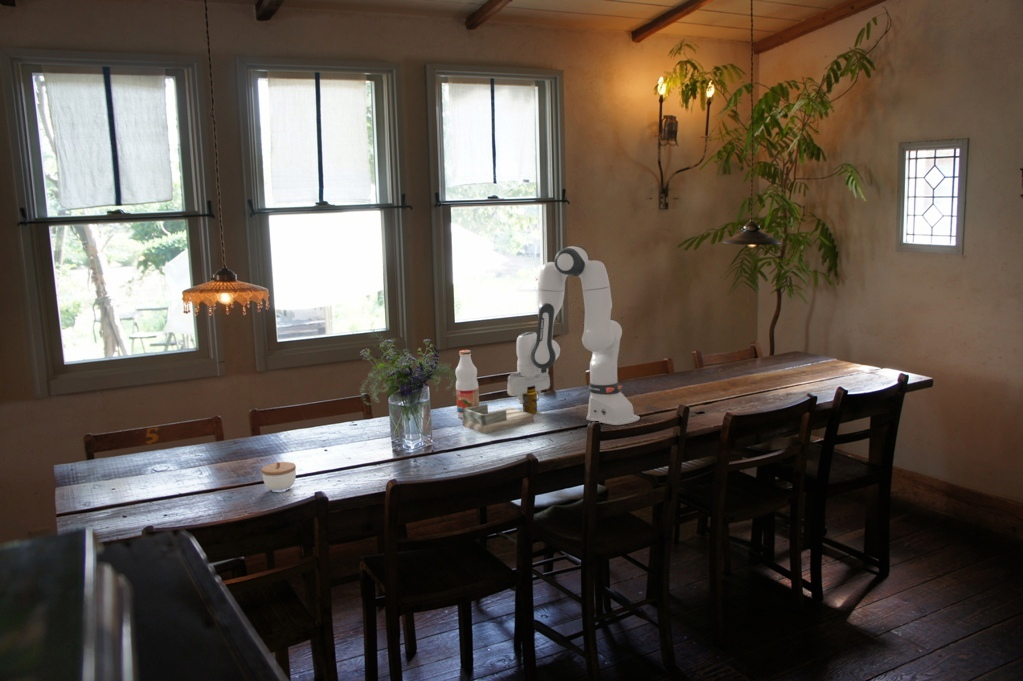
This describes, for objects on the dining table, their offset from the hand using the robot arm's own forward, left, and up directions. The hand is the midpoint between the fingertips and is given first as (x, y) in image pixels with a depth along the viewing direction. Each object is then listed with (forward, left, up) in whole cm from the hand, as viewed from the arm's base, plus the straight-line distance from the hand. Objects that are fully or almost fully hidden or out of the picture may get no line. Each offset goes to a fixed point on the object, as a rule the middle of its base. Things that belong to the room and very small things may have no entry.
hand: (529, 402), depth 359 cm
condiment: (0, +1, -5) cm, 5 cm away
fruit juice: (+15, +21, -5) cm, 26 cm away
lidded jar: (-19, +116, -5) cm, 118 cm away
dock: (-4, +19, -5) cm, 20 cm away
